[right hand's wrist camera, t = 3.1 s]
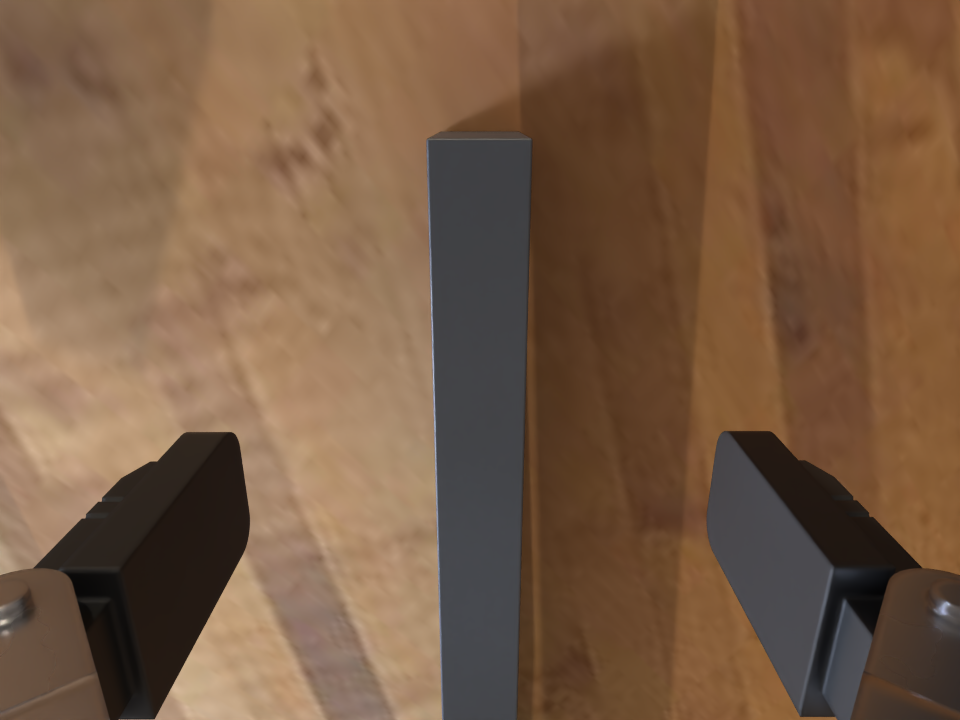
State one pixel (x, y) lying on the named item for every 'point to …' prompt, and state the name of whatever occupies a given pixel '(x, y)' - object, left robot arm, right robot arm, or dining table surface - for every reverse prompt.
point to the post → (479, 409)
